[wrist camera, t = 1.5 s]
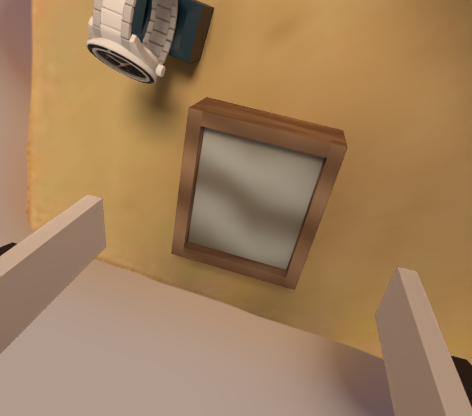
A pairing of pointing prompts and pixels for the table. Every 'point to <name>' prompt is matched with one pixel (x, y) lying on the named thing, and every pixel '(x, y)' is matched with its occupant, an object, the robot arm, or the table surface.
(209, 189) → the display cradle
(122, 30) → the watch
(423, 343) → the robot arm
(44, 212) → the table surface
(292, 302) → the table surface
